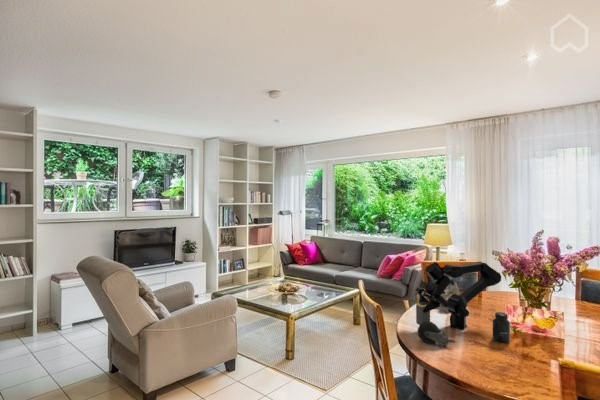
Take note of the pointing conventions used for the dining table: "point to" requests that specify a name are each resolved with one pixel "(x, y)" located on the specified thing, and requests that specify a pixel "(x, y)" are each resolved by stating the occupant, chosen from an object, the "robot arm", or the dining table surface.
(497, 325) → the supplement bottle
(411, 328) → the dining table surface
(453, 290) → the ceramic cottage
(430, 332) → the caster wheel
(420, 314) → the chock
